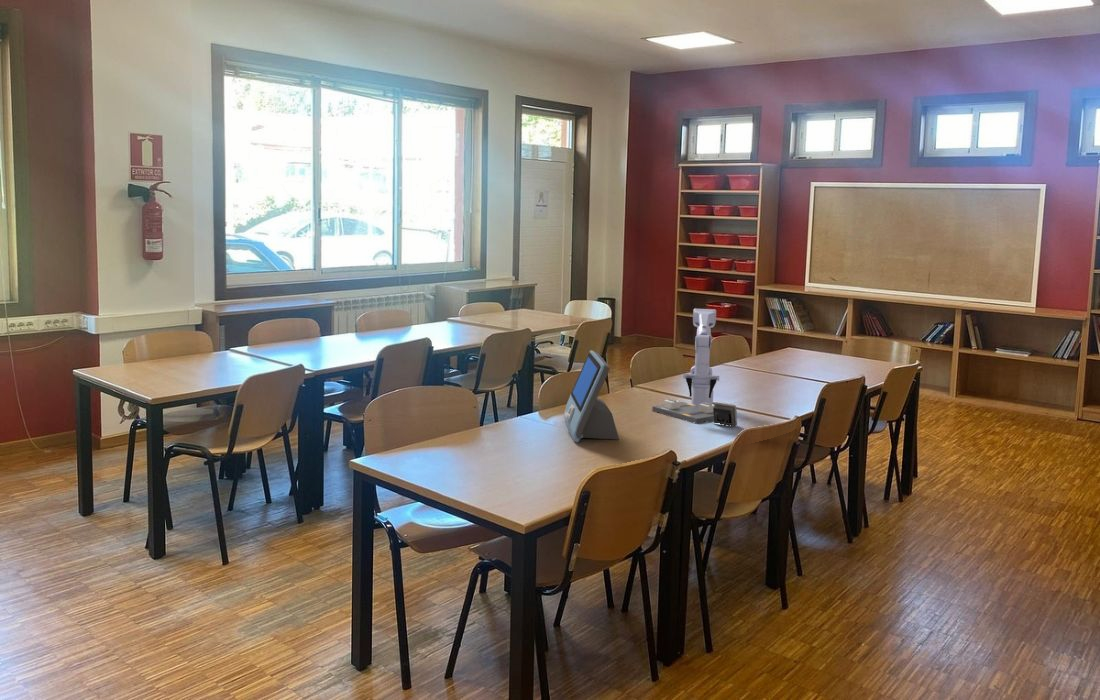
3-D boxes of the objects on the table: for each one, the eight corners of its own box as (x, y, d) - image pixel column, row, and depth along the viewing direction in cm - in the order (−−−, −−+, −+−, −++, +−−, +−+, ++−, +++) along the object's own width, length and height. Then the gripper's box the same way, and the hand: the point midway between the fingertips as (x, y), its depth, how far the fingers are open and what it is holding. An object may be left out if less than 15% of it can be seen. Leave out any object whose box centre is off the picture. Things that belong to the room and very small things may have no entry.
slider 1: (671, 405, 374) (671, 397, 373) (679, 408, 370) (680, 399, 369) (663, 407, 371) (663, 399, 370) (671, 409, 367) (671, 401, 366)
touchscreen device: (559, 420, 352) (564, 347, 347) (607, 422, 354) (612, 350, 349) (569, 443, 317) (574, 363, 313) (621, 445, 319) (627, 365, 314)
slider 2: (706, 409, 368) (707, 401, 368) (715, 412, 364) (715, 403, 364) (698, 411, 365) (698, 402, 365) (707, 413, 362) (707, 405, 361)
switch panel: (681, 406, 384) (682, 401, 383) (726, 418, 363) (726, 413, 363) (652, 410, 373) (652, 406, 373) (696, 423, 352) (696, 418, 352)
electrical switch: (737, 425, 351) (737, 404, 349) (732, 429, 347) (733, 407, 344) (715, 422, 356) (716, 400, 354) (710, 425, 352) (711, 404, 349)
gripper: (684, 363, 350) (682, 396, 351) (720, 365, 348) (718, 398, 349) (684, 362, 357) (682, 395, 358) (719, 365, 355) (717, 397, 356)
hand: (700, 397), depth 354 cm, fingers open, 7 cm apart
